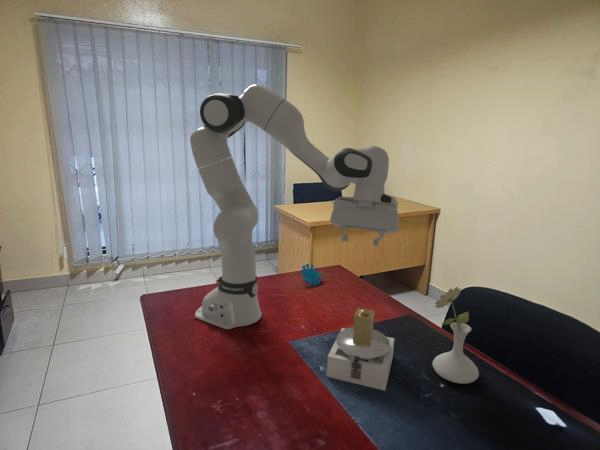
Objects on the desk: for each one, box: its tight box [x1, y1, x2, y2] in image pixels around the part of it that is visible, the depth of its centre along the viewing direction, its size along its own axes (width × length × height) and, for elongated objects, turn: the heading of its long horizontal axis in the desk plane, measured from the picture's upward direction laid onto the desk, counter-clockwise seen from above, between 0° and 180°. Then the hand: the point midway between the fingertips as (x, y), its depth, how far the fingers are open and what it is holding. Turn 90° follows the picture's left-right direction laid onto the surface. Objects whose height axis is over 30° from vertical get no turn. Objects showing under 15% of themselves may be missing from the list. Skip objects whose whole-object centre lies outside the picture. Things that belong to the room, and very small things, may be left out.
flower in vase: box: [432, 286, 480, 385], centre depth 96 cm, size 13×11×25 cm
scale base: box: [326, 327, 395, 392], centre depth 101 cm, size 15×15×6 cm
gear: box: [299, 263, 323, 287], centre depth 156 cm, size 11×6×10 cm
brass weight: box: [353, 307, 375, 346], centre depth 99 cm, size 4×4×9 cm
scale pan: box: [335, 326, 390, 374], centre depth 99 cm, size 14×16×6 cm
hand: (359, 243), depth 110 cm, fingers open, 8 cm apart
